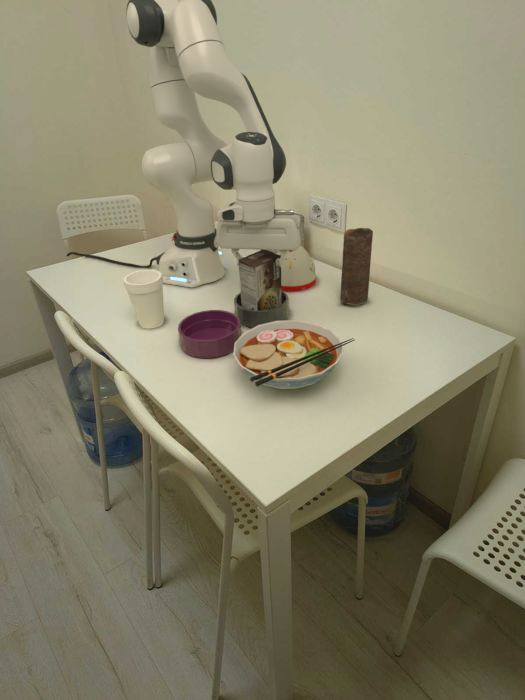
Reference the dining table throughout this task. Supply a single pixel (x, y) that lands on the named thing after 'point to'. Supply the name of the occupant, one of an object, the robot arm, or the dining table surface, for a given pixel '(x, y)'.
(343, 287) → the brown tall cylinder
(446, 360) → the dining table surface
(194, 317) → the plum bowl
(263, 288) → the printed food box
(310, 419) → the dining table surface
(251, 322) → the grey bowl
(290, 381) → the ramen bowl
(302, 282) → the white chicken egg cooker
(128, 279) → the foam cup
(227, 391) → the dining table surface
